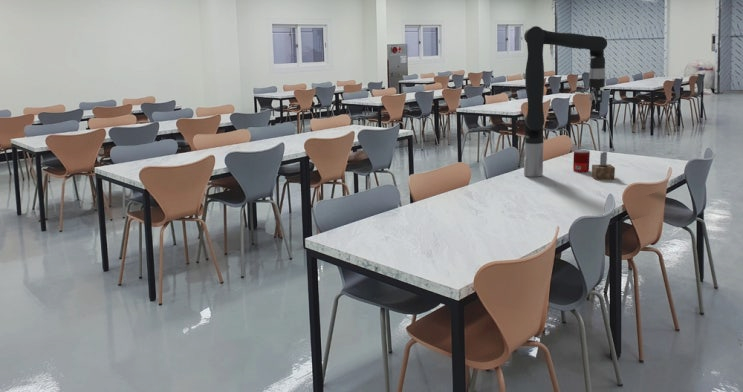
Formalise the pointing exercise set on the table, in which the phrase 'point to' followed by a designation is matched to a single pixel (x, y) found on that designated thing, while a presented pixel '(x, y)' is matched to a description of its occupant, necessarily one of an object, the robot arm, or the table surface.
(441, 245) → the table surface
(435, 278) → the table surface
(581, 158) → the canned food
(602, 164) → the pin
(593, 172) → the socket block
